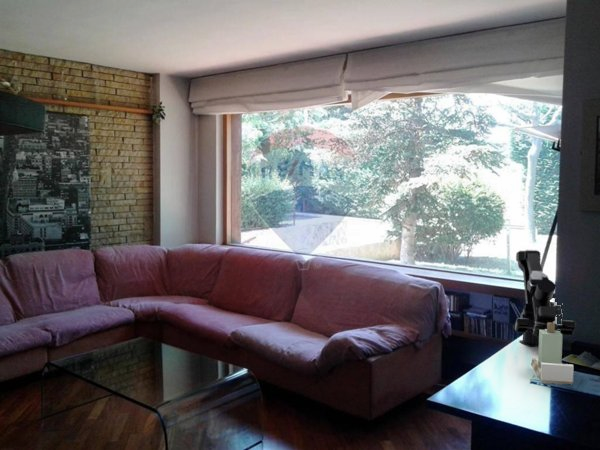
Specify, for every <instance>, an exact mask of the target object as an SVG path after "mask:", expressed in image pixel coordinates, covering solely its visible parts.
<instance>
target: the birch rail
mask: <svg viewBox="0 0 600 450" xmlns="http://www.w3.org/2000/svg"><path fill="white" fill-rule="evenodd" d="M530 364H531V367H532V369H533V371H534V372H535V374H536V376H537V375H538V376H537V377H539V378H538V379H539V381H540V383H541V382H545V383H544V384H550V383H555V384H554V385H562V384H573V385H574V381H573V382H565V381H552V380H541V367H540V365H539V364H538V360H537V359H536V357H532V358H531V362H530ZM561 364H564V363H563V362H561Z"/></svg>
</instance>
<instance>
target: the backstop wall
mask: <svg viewBox="0 0 600 450" xmlns="http://www.w3.org/2000/svg"><path fill="white" fill-rule="evenodd" d="M574 370H575V369H574V364H570V363H569V364H568V363H563V364H556V363H541V380H552V381H565V382H573V383H574Z"/></svg>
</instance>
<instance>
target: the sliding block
mask: <svg viewBox="0 0 600 450" xmlns="http://www.w3.org/2000/svg"><path fill="white" fill-rule="evenodd" d="M563 336H564V335H563V334H561V332H560V331H556V330H555V323H552V322H548V323H547V330H539V346H538V352H537V353H538V354H537V359H538V360H537V362H538V364H539V365H540V367H541V363H556V364H561V362H562V356H563ZM562 363H563V362H562Z"/></svg>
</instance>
